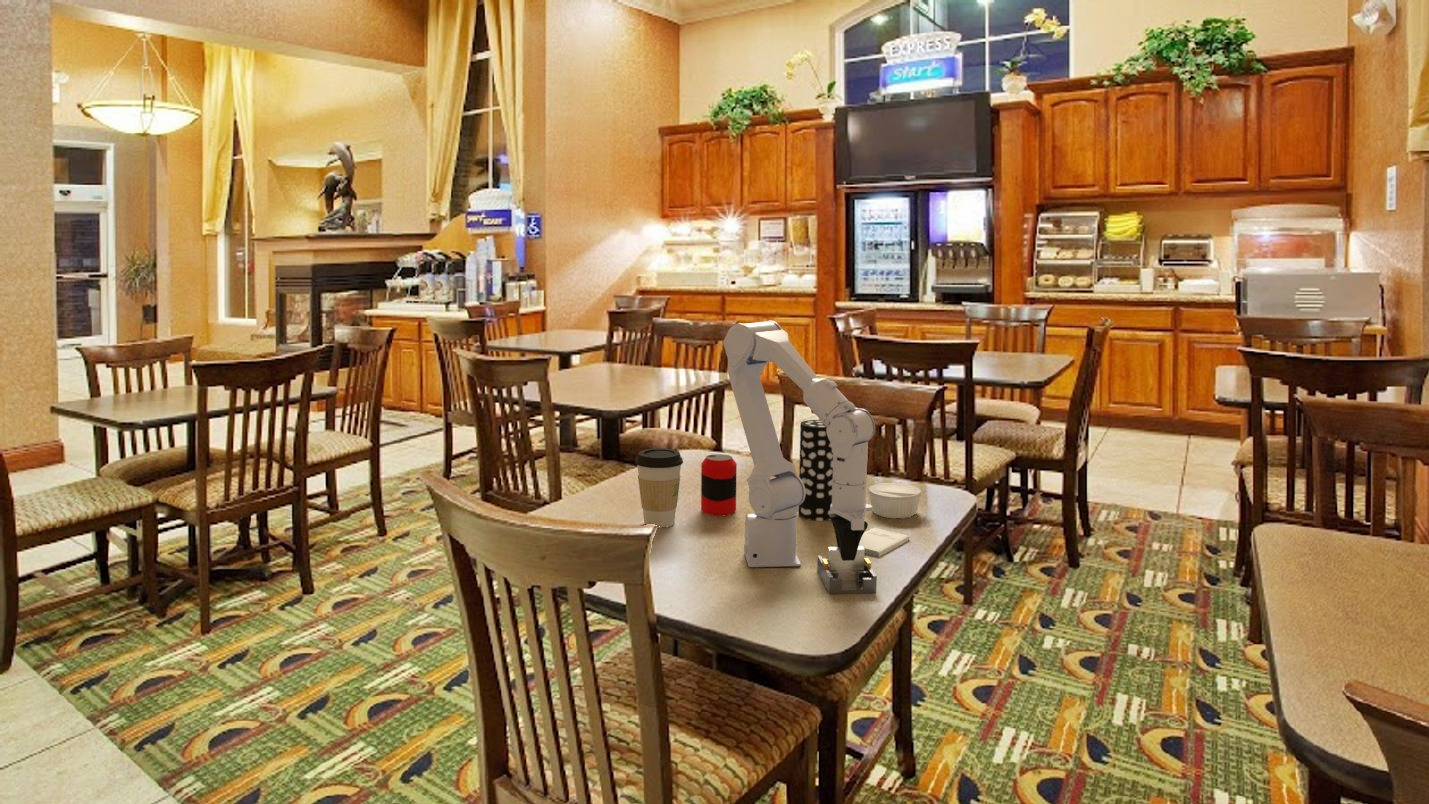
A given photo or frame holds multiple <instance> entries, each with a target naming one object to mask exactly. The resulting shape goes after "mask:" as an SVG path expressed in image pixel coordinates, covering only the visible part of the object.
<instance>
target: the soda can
mask: <svg viewBox="0 0 1429 804" xmlns="http://www.w3.org/2000/svg"><path fill="white" fill-rule="evenodd" d="M700 464H701V465H700V466H701V469H700V470H701V473H700V475H701V477H700V478H701V479H700V480H701V481H700V482H701V483H700V484H701V485H700V486H701V487H700V491H701V492H700V499H701V501H700V506H701V507H700V510H701V511H702V513H703V512H704V513H703V514H705V513H706V515H708V514H709V515H708V516H712V515H716V516H715V517H723V515H725V516H730V515H733V514H735V512H736V511H737V469H738V468H737V462H736V461H735V459H734V458H733V457H732V456H731V455H728V454H722V453H721V454H720V453H718V454H717V453H716V454H715V453H714V454H709V455H706V456H705V457H704V459H703V461H702V462H701V463H700ZM732 513H733V514H732ZM729 514H730V515H729Z"/></svg>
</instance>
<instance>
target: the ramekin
mask: <svg viewBox="0 0 1429 804" xmlns="http://www.w3.org/2000/svg"><path fill="white" fill-rule="evenodd" d="M868 494H869V499H870V505H871V506H872V512H873V514H876V515H877V516H880V517H883V518H886V517H887V519H896V518H901V519H906V518H905V517H909V518H911V517H910V516H912V517H914V516H915V515H914V514H917V511H918V510H919V509H918V508H919V504H920V498H921V496H922V490H921V489H920V488H918V487H917V486H914V485H912V484H905V483H898V482H881V483H875V484H873V485H871V486H869V488H868ZM913 515H914V516H913Z"/></svg>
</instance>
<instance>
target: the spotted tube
mask: <svg viewBox="0 0 1429 804" xmlns="http://www.w3.org/2000/svg"><path fill="white" fill-rule="evenodd" d="M826 428H827V427H826V426H825V424H824V423H823V422H822V421H821V420H820V419H808V420H803V421H801V422H800V429H799V432H800V433H799V435H800V436H799V462H798V463H799V466H798V467H799V468H798V469H799V470H798V472H799V473H798V476H799V477H800V479H801V480H802V482H803V483H804V486H805V491H806V495H805V499H804V501H803V503H802V504H801V505H799V511H798V512H797V516H799V517H800V518H802V519H804V520H808V521H817V522H818V521H819V522H822V521H823V522H824V521H831V520H830V517H829V514H835V513H833V512H832V511H831V510H830V506H831V503H832V480H833V453H832V445H831V442H830V440H829V439H828V436H827V431H826Z"/></svg>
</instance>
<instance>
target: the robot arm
mask: <svg viewBox="0 0 1429 804" xmlns="http://www.w3.org/2000/svg"><path fill="white" fill-rule="evenodd" d="M722 344H723V347H724V350H725V354H726V357H727V374H728V375H727V376H728V378H729V382H730V386H731V390H732V393H733V395H734V400H735V403H736V406H737V410H738V413H739V418H740V420H741V424H742V428H743V431H744V434H745V438H746V441H747V444H748V448H749V449H748V450H749V452H750V455H751V460H752V462H753V465H754V466H753V468H752V469H751V472H750V473H749V475H748V477H747V485H748V501H749V505H750V507H751V509H752V510H753V513H747V514H746V515H745V519H744V544H743V554H744V556H745V561H746V562H747V565H748V567H749V568H766V567H769V568H771V567H774V568H775V567H776V568H777V567H778V568H780V567H800V566H801V561H800V559H799V557H798V555H797V551H796V550H797V516H798V511H799V505H801V504H802V503H803V501H804V499H805V495H806V491H805V486H804V483H803V482H802V480H801V479H800V477H799V474H798V473H797V470H796V466H795V465H794V464H793V463H791V462H790V461H788V460H787V459H786V458H784V455H783V452H782V450H781V446H780V442H779V437H778V435H777V431H776V428H775V424H774V421H773V417H772V415H771V411H770V407H769V404H768V400H767V397H766V394H765V390H764V386H763V383H762V380H761V374H762V373H763V371H764V369H765V367H766V366H767V365H768V364H769V363H774V364H775V365H776V366H777V367H778V368H779V369H780V371H782V372H783V373H784V374H785V375H786V376H787V377H789V379H791V381H792V382H794V383H795V384H796V385H797V387H799V388H800V389H801V391H802V392H803V399H802V400H803V402H804V404H806V405H807V407H808V408H809V409H810V410H811V411H812V412H813V413H814V414H815V415H816V417H818V420H821V421H822V422H823V423H824V424H825V426H826V427H827V428H826V431H827V436H828V439H829V440H830V442H831V445H832V453H833V480H832V503H831V506H830V510H831V511H832V512H833V513H835V514H829V517H830V520H829V521H830V522H831V524H832V527H833V529H834V534H835V540H836V547H840V553H841V557H842V560H843V561H850V560H855V557H856V554H857V550H858V546H859V543H860V540H861V537H862V535H863V534H864V532H866V531H867V529H868V527H869V526H868V525H869V524H868V522H867V521H865V516H866V513H867V512H873V510H872V506H871V503H869V504H868V503H866V502H867V499H866V498H867V480H868V479H867V476H868V475H867V473H868V453H869V452H868V450H869V449H868V448H869V445H868V444H869V441H870V440H871V439H872V438H873V437H874V435H875V432H876V423H875V420H874V418H873V417H872V415H871V414H870V412H869V411H868V410H867V409H865V408H860V407H859V408H858V407H856V406H855V403H853V402H852V401H849V399H847V397H846V396H845V395H844V394H843V393H842V392H841V391H840V390H839V389H838V388H837V387H838V384H837V383H836V382H835V380H830V379H829V378H826V377H825V378H824V377H823V378H821V377H820V378H819V377H818V375H816V373H815V372H814V371H813V369H812V368H811V367H810V366H809V365H808V363H807V362H806V361H805V359H804V358H803V357H802V356H801V354H800V353H799V352H798V351H797V349H796V348H795V347H794V346H793V344H792V343H791V342H790V337H789V333H788V331H785V330H784V329H782V326H781V325H780V324H779V323H778V322H776V321H774V320H770V319H769V320H764V321H760V322H758V321H757V322H751V323H750V322H749V323H741V322H738V323H735V324H733V325H731V327H730V328H729V329H728V331H727V333H726V335H725V337H724V339H723V343H722ZM772 477H774V478H772Z"/></svg>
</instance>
